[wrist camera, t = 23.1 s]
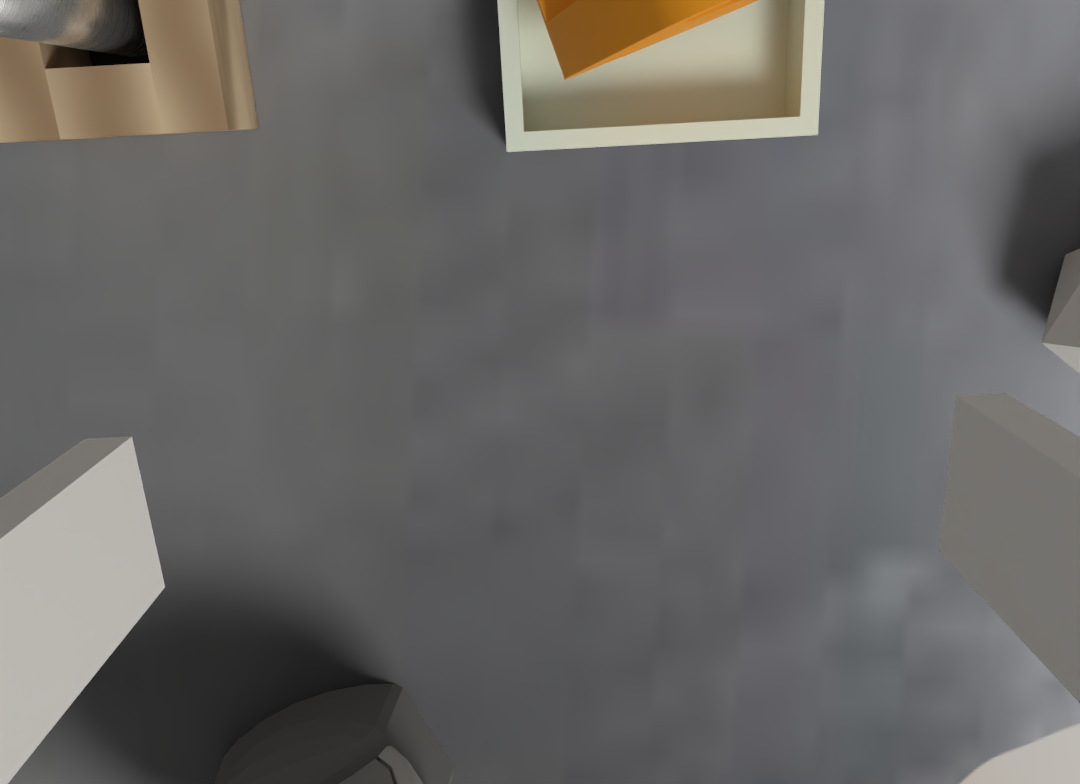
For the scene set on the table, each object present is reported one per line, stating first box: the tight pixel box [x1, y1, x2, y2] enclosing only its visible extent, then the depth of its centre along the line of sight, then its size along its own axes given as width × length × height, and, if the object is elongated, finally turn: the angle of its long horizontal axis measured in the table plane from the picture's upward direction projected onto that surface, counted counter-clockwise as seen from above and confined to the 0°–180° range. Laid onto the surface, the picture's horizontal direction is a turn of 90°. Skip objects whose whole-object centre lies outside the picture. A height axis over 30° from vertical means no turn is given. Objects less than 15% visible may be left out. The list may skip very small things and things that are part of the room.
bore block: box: [0, 0, 259, 143], centre depth 36 cm, size 10×10×4 cm
